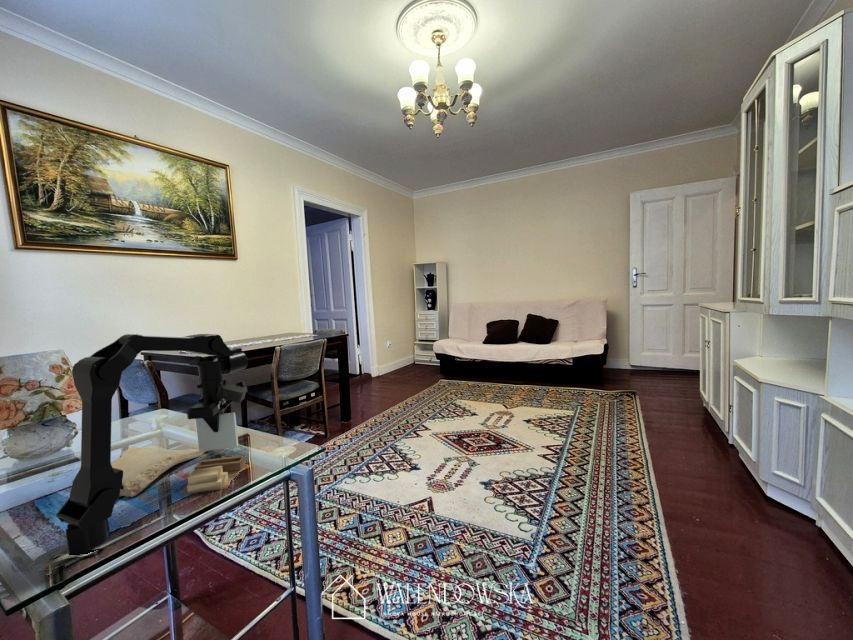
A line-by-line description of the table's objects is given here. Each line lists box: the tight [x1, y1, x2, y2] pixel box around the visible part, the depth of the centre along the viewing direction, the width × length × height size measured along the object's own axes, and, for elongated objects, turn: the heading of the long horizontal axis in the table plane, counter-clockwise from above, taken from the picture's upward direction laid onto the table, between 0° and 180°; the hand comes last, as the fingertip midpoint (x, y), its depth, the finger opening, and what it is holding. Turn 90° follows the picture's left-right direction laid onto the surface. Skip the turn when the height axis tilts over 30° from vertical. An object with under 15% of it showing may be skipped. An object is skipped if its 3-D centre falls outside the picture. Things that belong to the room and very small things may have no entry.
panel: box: [195, 412, 239, 452], centre depth 101 cm, size 1×10×10 cm, turn 100°
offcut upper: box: [187, 466, 223, 486], centre depth 94 cm, size 4×7×2 cm, turn 105°
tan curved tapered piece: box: [111, 445, 204, 498], centre depth 102 cm, size 24×8×20 cm
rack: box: [179, 455, 247, 495], centre depth 98 cm, size 14×12×4 cm
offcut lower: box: [186, 472, 228, 494], centre depth 94 cm, size 5×8×2 cm, turn 100°
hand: (217, 430), depth 101 cm, fingers closed on panel, 1 cm apart
